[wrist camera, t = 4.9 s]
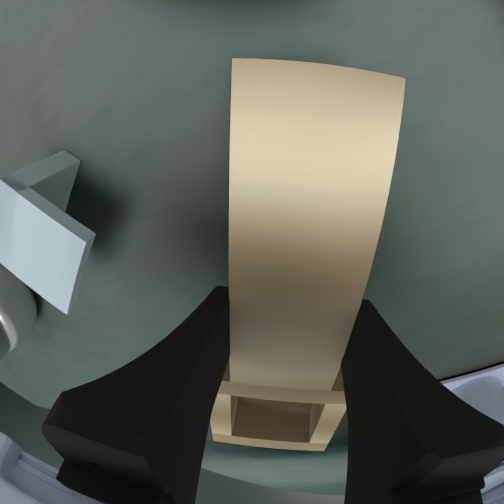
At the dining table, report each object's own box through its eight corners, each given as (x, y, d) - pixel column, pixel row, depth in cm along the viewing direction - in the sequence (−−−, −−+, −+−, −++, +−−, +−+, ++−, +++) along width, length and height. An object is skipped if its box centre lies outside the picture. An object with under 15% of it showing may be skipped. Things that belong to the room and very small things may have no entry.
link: (323, 394, 18) (323, 450, 15) (225, 385, 19) (213, 440, 15) (394, 83, 9) (441, 88, 6) (224, 65, 10) (190, 59, 6)
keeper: (139, 197, 16) (86, 242, 12) (111, 262, 19) (67, 314, 14) (64, 149, 15) (-1, 178, 11) (46, 216, 18) (-7, 256, 13)
